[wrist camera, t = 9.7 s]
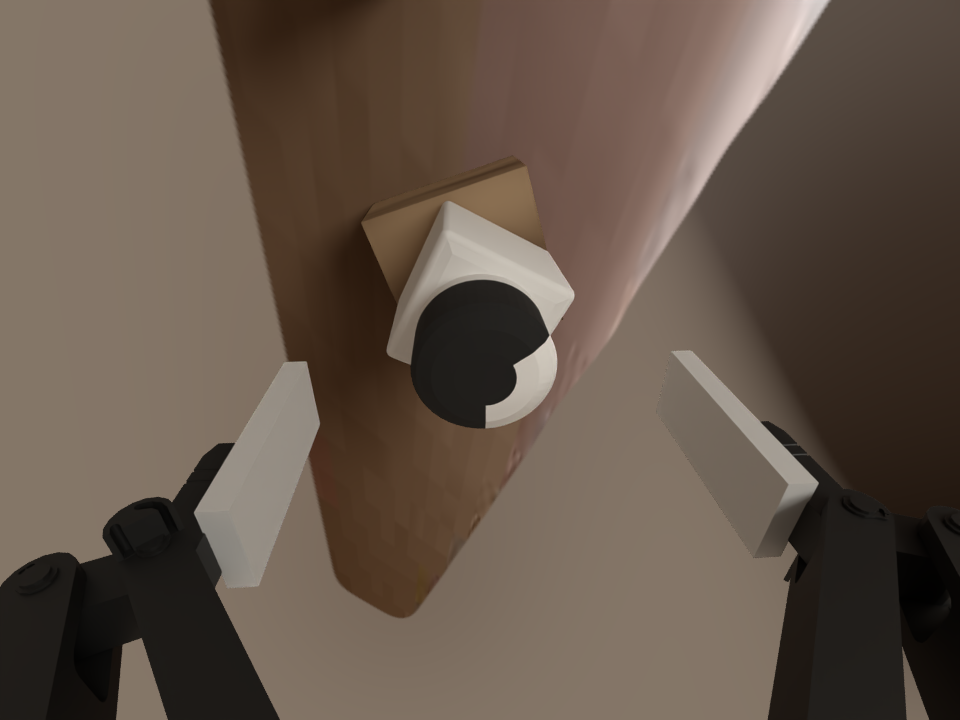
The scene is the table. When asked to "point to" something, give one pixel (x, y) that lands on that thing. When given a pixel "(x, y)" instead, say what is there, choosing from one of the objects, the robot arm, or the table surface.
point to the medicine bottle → (479, 321)
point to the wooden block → (411, 215)
